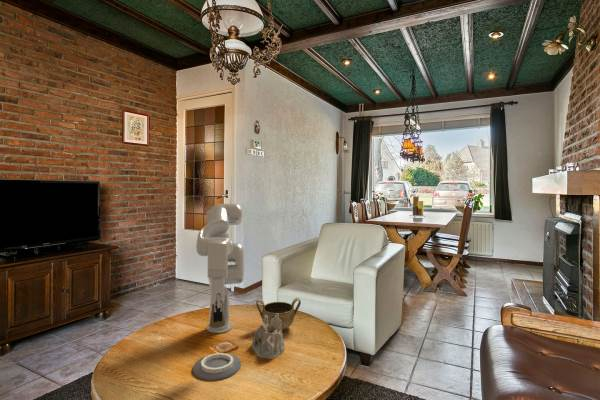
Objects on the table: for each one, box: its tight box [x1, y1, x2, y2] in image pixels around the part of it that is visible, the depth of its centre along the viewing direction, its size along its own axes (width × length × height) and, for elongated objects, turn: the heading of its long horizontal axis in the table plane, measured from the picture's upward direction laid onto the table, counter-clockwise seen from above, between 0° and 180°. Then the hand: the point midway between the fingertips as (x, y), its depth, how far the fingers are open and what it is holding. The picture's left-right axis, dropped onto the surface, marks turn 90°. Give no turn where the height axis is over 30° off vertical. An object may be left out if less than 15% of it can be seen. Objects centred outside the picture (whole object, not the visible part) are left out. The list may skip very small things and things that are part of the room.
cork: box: [209, 302, 225, 328], centre depth 128 cm, size 6×6×11 cm
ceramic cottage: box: [251, 313, 286, 360], centre depth 143 cm, size 16×16×15 cm
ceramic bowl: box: [255, 297, 302, 331], centre depth 165 cm, size 22×17×15 cm
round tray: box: [192, 352, 242, 381], centre depth 128 cm, size 18×18×2 cm
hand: (217, 318), depth 128 cm, fingers closed on cork, 4 cm apart
